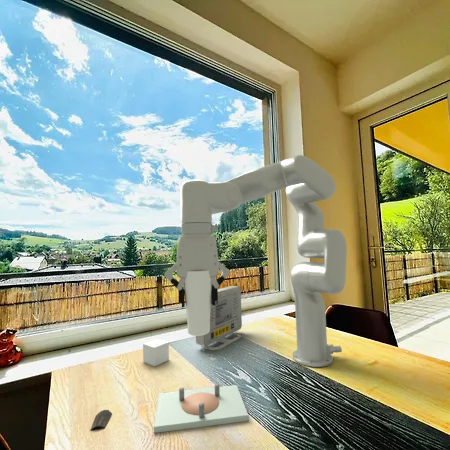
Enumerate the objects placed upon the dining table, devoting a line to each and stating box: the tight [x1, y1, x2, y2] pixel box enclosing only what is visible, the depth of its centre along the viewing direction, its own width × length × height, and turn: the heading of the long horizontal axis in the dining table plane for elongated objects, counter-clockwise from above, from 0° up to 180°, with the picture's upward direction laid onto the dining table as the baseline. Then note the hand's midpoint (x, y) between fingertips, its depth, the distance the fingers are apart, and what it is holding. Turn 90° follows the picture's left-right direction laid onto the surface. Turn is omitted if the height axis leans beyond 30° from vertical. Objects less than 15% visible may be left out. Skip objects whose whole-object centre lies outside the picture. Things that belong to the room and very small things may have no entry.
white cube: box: [142, 338, 170, 367], centre depth 92 cm, size 6×6×6 cm
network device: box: [195, 285, 243, 351], centre depth 110 cm, size 26×9×20 cm, turn 144°
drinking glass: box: [183, 270, 212, 337], centre depth 66 cm, size 7×7×15 cm
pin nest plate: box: [153, 383, 249, 434], centre depth 65 cm, size 20×13×4 cm, turn 99°
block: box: [90, 409, 113, 431], centre depth 61 cm, size 4×6×2 cm, turn 11°
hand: (198, 304), depth 66 cm, fingers closed on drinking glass, 6 cm apart
